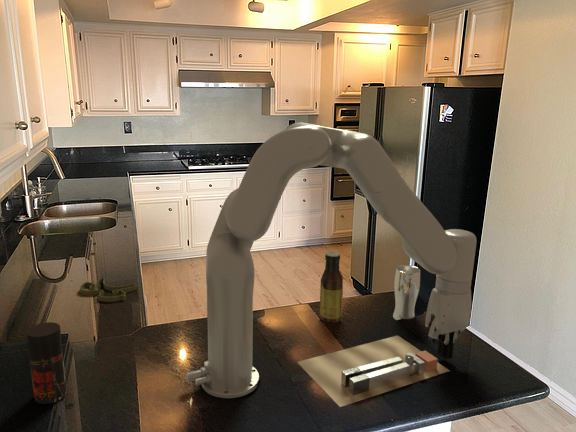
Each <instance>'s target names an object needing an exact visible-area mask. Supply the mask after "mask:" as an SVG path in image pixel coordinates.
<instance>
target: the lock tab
mask: <svg viewBox="0 0 576 432" xmlns="http://www.w3.org/2000/svg"><path fill="white" fill-rule="evenodd" d="M421 351H422V352H419V353H416V355H415V356H417V357H418V358H420V359H421V360H422V361H424V362H425V366H424V370H425V371H427V372H428V371H431V370H434V369H437V362H438V363H439V361H438V360H439V359H438V358H437V357H436V356H434V355H433V354H432V353H429V352H428V351H427V350H421Z"/></svg>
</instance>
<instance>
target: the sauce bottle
mask: <svg viewBox="0 0 576 432" xmlns="http://www.w3.org/2000/svg"><path fill="white" fill-rule="evenodd" d="M324 259H325V267H324V270H323V273H322V276H321V278H320V287H319V288H320V291H319V292H320V293H319V318H320V320H321V321H323V323H333V324H334V323H335V324H336V323H339V322H341V320H342V315H343V297H344V296H343V295H344V294H343V289H344V286H343V282H344V276H343V274H342V272H341V271H340V260H341V254H340V252H338V251H326V253H325V256H324Z"/></svg>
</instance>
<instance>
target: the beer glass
mask: <svg viewBox="0 0 576 432" xmlns="http://www.w3.org/2000/svg"><path fill="white" fill-rule="evenodd" d="M395 269H396V270H395V274H394V275H395V276H394V282H393V283H394V286H393V287H394V299H395V300H394V301H395V303H394V304H395V306H394V307H395V308H394V311H393V313H392V317H393V318H392V319H394V320H395V321H398V320H402V319H403V320H411V319H414V318H415V306H416V302H417V299H418V296H419V292H420V287H421V269H420V268H419V267H417V266H413V265H408V264H404V265H403V264H401V265H398V266H396V268H395Z"/></svg>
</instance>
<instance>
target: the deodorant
mask: <svg viewBox="0 0 576 432" xmlns="http://www.w3.org/2000/svg"><path fill="white" fill-rule="evenodd" d="M61 332H62V331H61V325H60V324H59V323H57V322H52V321H51V322H48V321H47V322H42V323H37V324H35V325H32V326H30V327H29V328H28V329H27V330H26V332H25V334H26V341H27V351H28V359H29V365H30V375H31V382H32V391H33V398H35V400H37V401H39V402H45V401H48V400H51V399H56V398H59V397H61V396H63V395H64V394H65V392H66V389H67V381H66V371H65V361H64V352H63V351H64V350H63V343H62V342H63V341H62V333H61ZM35 400H34V401H35Z"/></svg>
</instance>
